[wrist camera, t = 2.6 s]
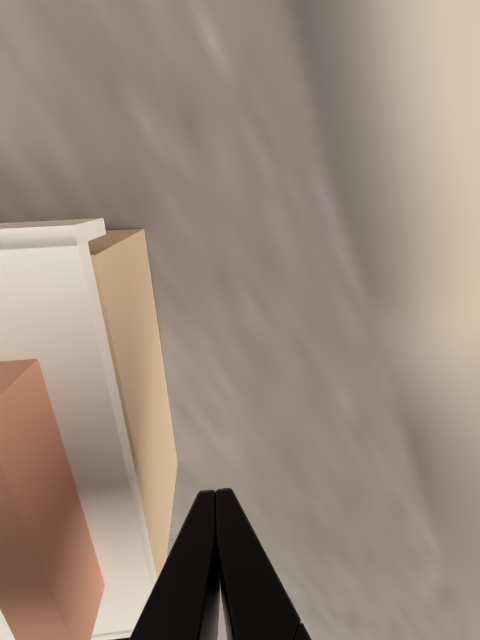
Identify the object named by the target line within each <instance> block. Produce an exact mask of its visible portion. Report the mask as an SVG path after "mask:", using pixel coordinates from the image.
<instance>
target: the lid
mask: <svg viewBox="0 0 480 640" xmlns="http://www.w3.org/2000/svg"><path fill="white" fill-rule="evenodd" d="M105 234H106V230H105V225H104V219H103V218H93V219H73V220H53V221H33V222H13V223H0V640H113V639H120V638H128V637H130V636H131V634H132V632H133V630H134V628H135V625H136V623H137V621H138V619H139V617H140V615H141V613H142V611H143V608H144V606H145V604H146V602H147V600H148V598H149V596H150V594H151V592H152V589H153V587H154V585H155V583H156V581H157V576H156V571H155V566H154V561H153V556H152V551H151V547H150V542H149V537H148V532H147V527H146V522H145V517H144V513H143V508H142V503H141V498H140V493H139V488H138V483H137V479H136V474H135V469H134V464H133V459H132V454H131V449H130V445H129V440H128V435H127V430H126V425H125V420H124V415H123V411H122V406H121V401H120V396H119V391H118V386H117V382H116V377H115V372H114V367H113V362H112V357H111V352H110V348H109V343H108V338H107V333H106V328H105V323H104V318H103V314H102V309H101V304H100V299H99V294H98V289H97V284H96V280H95V275H94V270H93V265H92V260H91V255H90V250H89V246H88V241H90V240H93V239H95V238H98V237H100V236H103V235H105Z"/></svg>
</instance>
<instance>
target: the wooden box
mask: <svg viewBox="0 0 480 640" xmlns="http://www.w3.org/2000/svg"><path fill="white" fill-rule="evenodd" d="M88 246H89V250H90V255H91V260H92V265H93V270H94V275H95V280H96V284H97V289H98V294H99V299H100V304H101V309H102V314H103V318H104V323H105V328H106V333H107V338H108V343H109V348H110V352H111V357H112V362H113V367H114V372H115V377H116V382H117V386H118V391H119V396H120V401H121V406H122V411H123V415H124V420H125V425H126V430H127V435H128V440H129V445H130V449H131V454H132V459H133V464H134V469H135V474H136V479H137V483H138V488H139V493H140V498H141V503H142V508H143V513H144V517H145V522H146V527H147V532H148V537H149V542H150V547H151V551H152V556H153V561H154V566H155V571H156V576H157V579H158V577H159V575H160V572H161V570H162V568H163V566H164V564H165V562H166V558H167V549H168V541H169V533H170V524H171V516H172V507H173V499H174V491H175V482H176V474H177V465H178V462H177V455H176V448H175V441H174V434H173V427H172V420H171V413H170V406H169V399H168V392H167V385H166V378H165V371H164V364H163V357H162V350H161V343H160V336H159V329H158V322H157V315H156V308H155V301H154V294H153V287H152V280H151V273H150V266H149V260H148V253H147V246H146V239H145V232H144V229H126V230H107V231H106V234H105V235H103V236H100V237H98V238H95V239H93V240H90V241H88Z"/></svg>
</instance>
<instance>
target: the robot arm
mask: <svg viewBox="0 0 480 640" xmlns="http://www.w3.org/2000/svg"><path fill="white" fill-rule="evenodd" d="M220 587H221V596H222V604H223V611H224V618H225V625H226V632H227V639H228V640H311V638H310V636H309V634H308V632H307V630H306V628H305V627H304V625H303V623H301V620H300V617H299V616H298V614H297V612H296V610H295V608H294V606H293V604H292V602H291V600H290V598H289V597H288V595H287V593H286V591H285V589H284V587H283V585H282V583H281V581H280V579H279V578H278V576H277V574H276V572H275V570H274V568H273V566H272V564H271V562H270V560H269V558H268V557H267V555H266V553H265V551H264V549H263V547H262V545H261V543H260V541H259V539H258V538H257V536H256V534H255V532H254V530H253V528H252V526H251V524H250V522H249V520H248V519H247V517H246V515H245V513H244V511H243V509H242V507H241V505H240V503H239V501H238V500H237V498H236V496H235V494H234V492H233V490H232V489H231V488H223V489H217V490H216V492H215V491H214V490H204V491H200V492H199V493H198V494H197V496H196V498H195V500H194V503H193V505H192V507H191V509H190V511H189V513H188V515H187V517H186V519H185V522H184V524H183V526H182V528H181V530H180V532H179V534H178V536H177V539H176V541H175V543H174V545H173V547H172V549H171V551H170V553H169V556H168V558H167V560H166V562H165V564H164V566H163V568H162V570H161V572H160V575H159V577H158V579H157V581H156V583H155V585H154V587H153V589H152V592H151V594H150V596H149V598H148V600H147V602H146V604H145V606H144V608H143V611H142V613H141V615H140V617H139V619H138V621H137V623H136V625H135V628H134V630H133V632H132V634H131V636H130V637H128V638H120V639H113V640H217V636H218V620H219V604H220Z"/></svg>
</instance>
